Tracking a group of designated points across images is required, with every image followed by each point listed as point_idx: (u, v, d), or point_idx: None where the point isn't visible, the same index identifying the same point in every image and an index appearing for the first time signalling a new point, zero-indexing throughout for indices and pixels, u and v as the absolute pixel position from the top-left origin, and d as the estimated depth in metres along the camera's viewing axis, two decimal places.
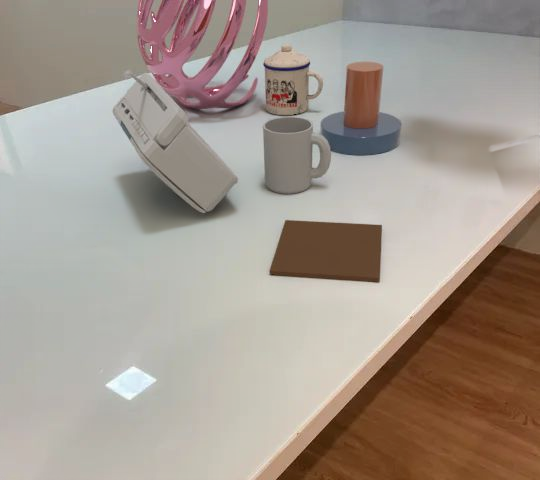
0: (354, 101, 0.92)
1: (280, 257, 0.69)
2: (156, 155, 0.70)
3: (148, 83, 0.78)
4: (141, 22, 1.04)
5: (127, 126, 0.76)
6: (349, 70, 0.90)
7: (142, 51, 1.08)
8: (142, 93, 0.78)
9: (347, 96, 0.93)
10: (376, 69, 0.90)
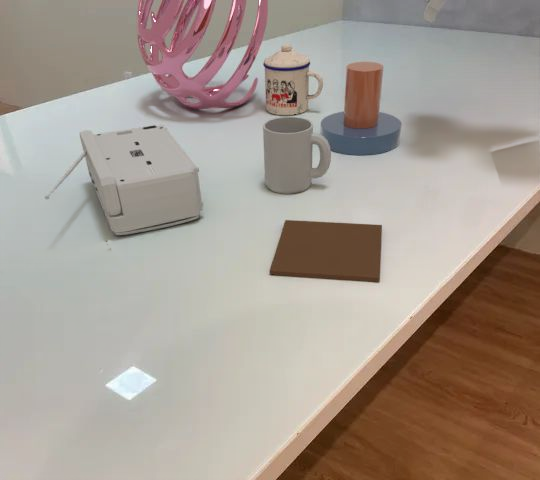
0: (354, 101, 0.92)
1: (280, 257, 0.69)
2: (122, 224, 0.73)
3: (84, 147, 0.80)
4: (141, 22, 1.04)
5: (99, 200, 0.81)
6: (349, 70, 0.90)
7: (142, 51, 1.08)
8: (87, 160, 0.81)
9: (347, 96, 0.93)
10: (376, 69, 0.90)
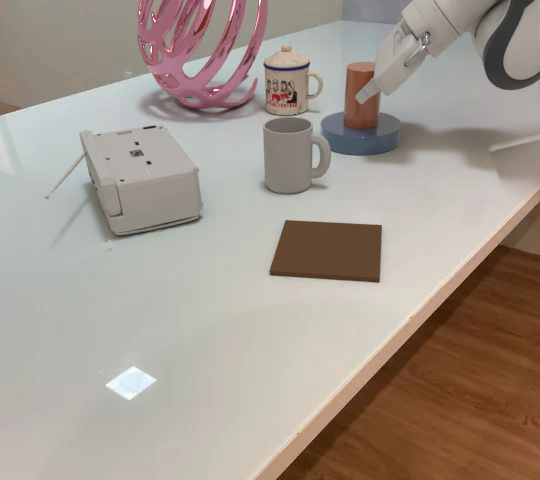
0: (354, 101, 0.92)
1: (280, 257, 0.69)
2: (122, 224, 0.73)
3: (84, 147, 0.80)
4: (141, 22, 1.04)
5: (99, 200, 0.81)
6: (349, 70, 0.90)
7: (142, 51, 1.08)
8: (87, 160, 0.81)
9: (347, 96, 0.93)
10: None
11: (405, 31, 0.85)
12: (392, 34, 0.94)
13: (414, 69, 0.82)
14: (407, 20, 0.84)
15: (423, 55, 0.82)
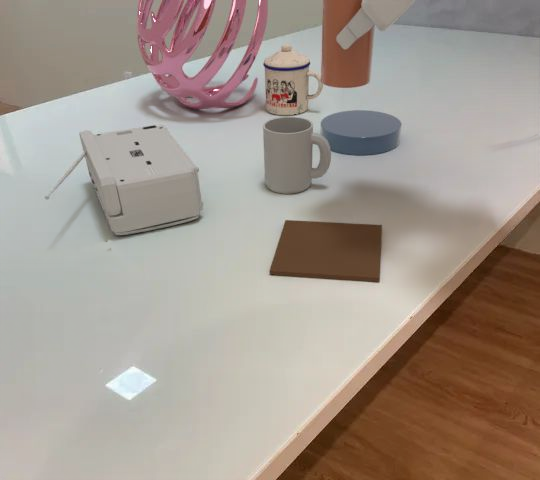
0: (335, 46, 0.64)
1: (280, 257, 0.69)
2: (122, 224, 0.73)
3: (84, 147, 0.80)
4: (141, 22, 1.04)
5: (99, 200, 0.81)
6: None
7: (142, 51, 1.08)
8: (87, 160, 0.81)
9: (325, 39, 0.64)
10: None
11: None
12: None
13: None
14: None
15: None
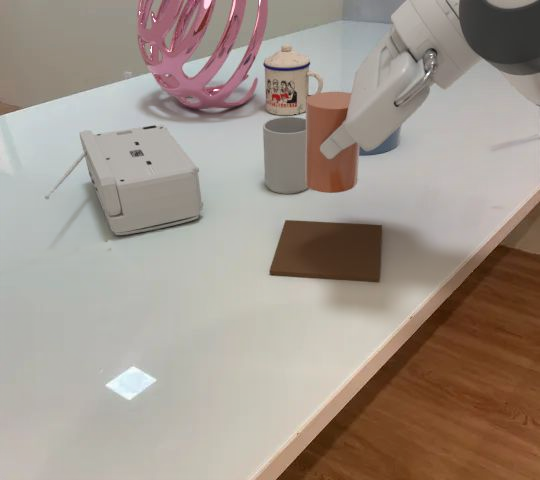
0: (319, 153, 0.60)
1: (280, 257, 0.69)
2: (122, 224, 0.73)
3: (84, 147, 0.80)
4: (141, 22, 1.04)
5: (99, 200, 0.81)
6: (309, 106, 0.58)
7: (142, 51, 1.08)
8: (87, 160, 0.81)
9: (308, 144, 0.61)
10: None
11: (397, 47, 0.53)
12: (378, 50, 0.62)
13: (411, 111, 0.49)
14: (400, 30, 0.51)
15: (426, 88, 0.49)
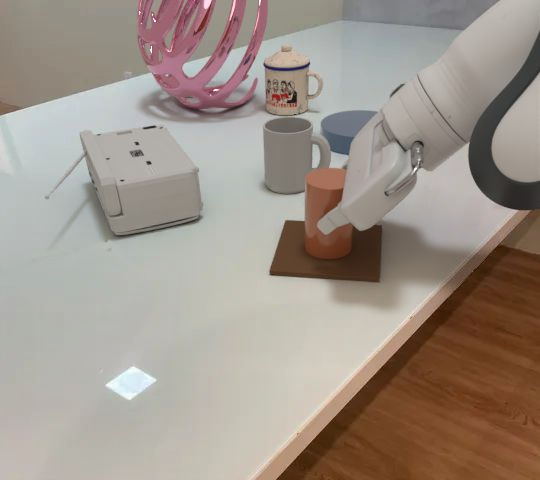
0: None
1: (280, 257, 0.69)
2: (122, 224, 0.73)
3: (84, 147, 0.80)
4: (141, 22, 1.04)
5: (99, 200, 0.81)
6: (308, 185, 0.63)
7: (142, 51, 1.08)
8: (87, 160, 0.81)
9: (307, 217, 0.66)
10: None
11: (387, 136, 0.58)
12: (372, 126, 0.67)
13: (400, 199, 0.55)
14: (390, 122, 0.57)
15: (413, 179, 0.55)
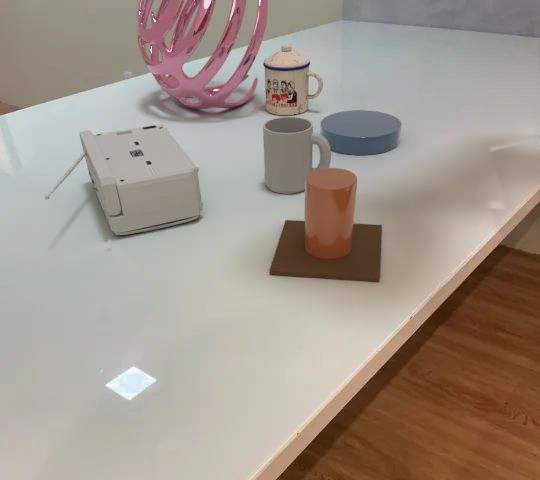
0: (317, 225, 0.65)
1: (280, 257, 0.69)
2: (122, 224, 0.73)
3: (84, 147, 0.80)
4: (141, 22, 1.04)
5: (99, 200, 0.81)
6: (308, 185, 0.63)
7: (142, 51, 1.08)
8: (87, 160, 0.81)
9: (307, 217, 0.66)
10: (346, 185, 0.63)
11: None
12: None
13: None
14: None
15: None
